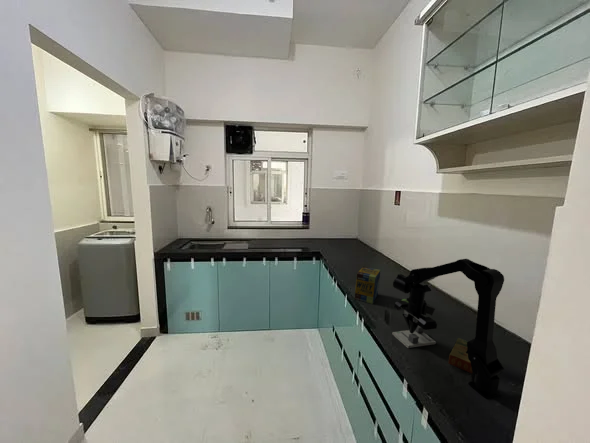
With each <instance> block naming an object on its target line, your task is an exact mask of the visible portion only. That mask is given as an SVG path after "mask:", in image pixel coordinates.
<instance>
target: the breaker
mask: <svg viewBox="0 0 590 443" xmlns="http://www.w3.org/2000/svg"><path fill="white" fill-rule="evenodd" d="M415 331H416V332H417V333H425V332H424V329H422V328H421V327H420V326H419V325H418V327H417V328H416V330H415Z"/></svg>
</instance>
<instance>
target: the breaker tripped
mask: <svg viewBox="0 0 590 443" xmlns="http://www.w3.org/2000/svg"><path fill="white" fill-rule="evenodd" d="M418 339H419V337H418V336H417V335H416V334H409V339H408V340H409V341H410V342H411V343H413V344H415V343H419V342H418Z"/></svg>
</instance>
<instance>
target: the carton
mask: <svg viewBox="0 0 590 443" xmlns="http://www.w3.org/2000/svg"><path fill="white" fill-rule="evenodd" d="M468 341H469V340H468ZM468 341H467V340H466V339H463V338H459V337H458V338H457V340H456V341H455V344H454V346H453V347H452V349H451V352H450V353H449V355H448V364H449V365H451V366H454V367H455V368H458V369H460V370H462V371H465V372H467V373H469V374H471V375H472V367H471V362H470V360H469V359H468V353H466V351H467V342H468Z"/></svg>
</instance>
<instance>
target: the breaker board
mask: <svg viewBox="0 0 590 443" xmlns="http://www.w3.org/2000/svg"><path fill="white" fill-rule="evenodd" d="M409 334H411V333H410V331H409V329H408V330H406V329H405V330H400V331H399V330H398V331H392V336H393V337H395V339H397V340H398V341H399V342H400V343H402V344H403V345H404V346H405V347H406V348H407V349H410V348H411V349H412V348H417V347H423V346H424V347H425V346H430V345H431V346H432V345H436V344H437V341H435V339H433V338H432V337H430V336H429V335H428V334H426V333H425V332H424V333H417V332H416V331H414V333H412V334H416V335H417V336H418V337H419V339H418V342H419V343H415V344H413V343H411V342H410V341H409V340H408V339H409Z"/></svg>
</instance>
